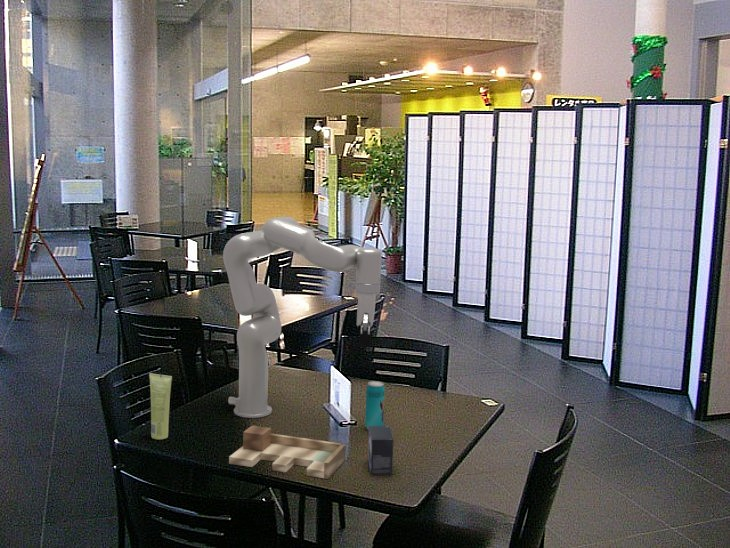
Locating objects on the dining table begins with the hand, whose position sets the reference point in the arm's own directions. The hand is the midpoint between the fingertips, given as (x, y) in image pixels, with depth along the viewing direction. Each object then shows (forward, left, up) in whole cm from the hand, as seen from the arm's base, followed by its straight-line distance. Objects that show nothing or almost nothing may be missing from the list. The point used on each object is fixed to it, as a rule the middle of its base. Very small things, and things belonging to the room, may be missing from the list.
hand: (365, 342), depth 251 cm
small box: (+13, -25, -29) cm, 40 cm away
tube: (-55, -27, -29) cm, 68 cm away
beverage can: (+3, +5, -29) cm, 30 cm away
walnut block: (-23, -28, -27) cm, 45 cm away
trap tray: (-13, -31, -29) cm, 44 cm away
